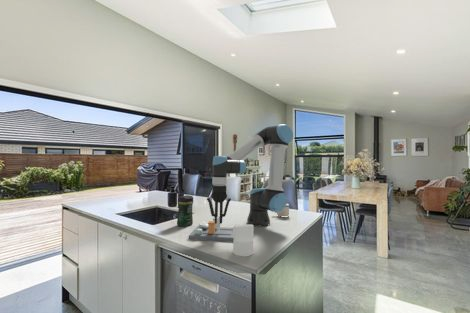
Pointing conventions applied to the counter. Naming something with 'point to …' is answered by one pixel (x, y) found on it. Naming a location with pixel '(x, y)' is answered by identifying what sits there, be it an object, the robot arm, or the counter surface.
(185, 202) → the coffee jar
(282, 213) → the teacup with lid
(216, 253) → the counter surface
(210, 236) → the panel
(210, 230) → the slider
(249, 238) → the cylinder with rectangular tab
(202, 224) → the light grey flat piece
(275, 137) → the robot arm
